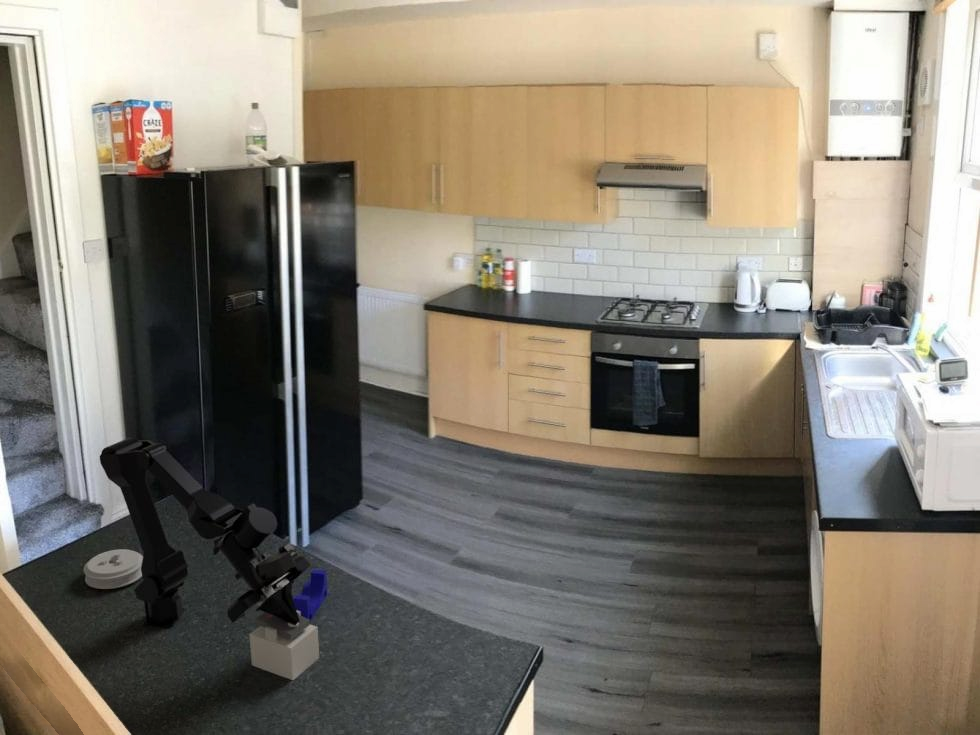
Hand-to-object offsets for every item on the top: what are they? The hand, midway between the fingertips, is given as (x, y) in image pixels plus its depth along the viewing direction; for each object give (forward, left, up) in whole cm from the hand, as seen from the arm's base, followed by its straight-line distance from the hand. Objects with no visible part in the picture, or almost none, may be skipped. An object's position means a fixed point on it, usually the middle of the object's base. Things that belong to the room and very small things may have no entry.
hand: (297, 623), depth 177 cm
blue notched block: (-4, +21, -10) cm, 23 cm away
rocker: (-3, +1, -1) cm, 4 cm away
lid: (-51, +28, -10) cm, 59 cm away
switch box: (-3, +1, -10) cm, 10 cm away
